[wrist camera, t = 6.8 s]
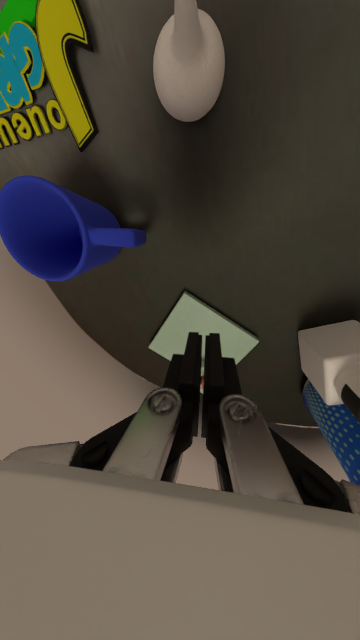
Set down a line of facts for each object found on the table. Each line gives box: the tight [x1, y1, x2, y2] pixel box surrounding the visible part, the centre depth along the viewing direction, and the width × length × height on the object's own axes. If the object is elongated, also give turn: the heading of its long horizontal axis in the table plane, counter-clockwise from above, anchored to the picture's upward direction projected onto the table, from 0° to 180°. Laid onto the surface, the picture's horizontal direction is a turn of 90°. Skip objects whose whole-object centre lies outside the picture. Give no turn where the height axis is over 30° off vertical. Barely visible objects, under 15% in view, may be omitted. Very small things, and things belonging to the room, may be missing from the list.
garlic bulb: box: [153, 0, 225, 122], centre depth 14 cm, size 6×6×8 cm
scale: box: [148, 291, 259, 393], centre depth 28 cm, size 14×12×3 cm
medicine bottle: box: [298, 320, 360, 423], centre depth 22 cm, size 7×7×12 cm
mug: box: [0, 176, 146, 281], centre depth 20 cm, size 8×12×10 cm
